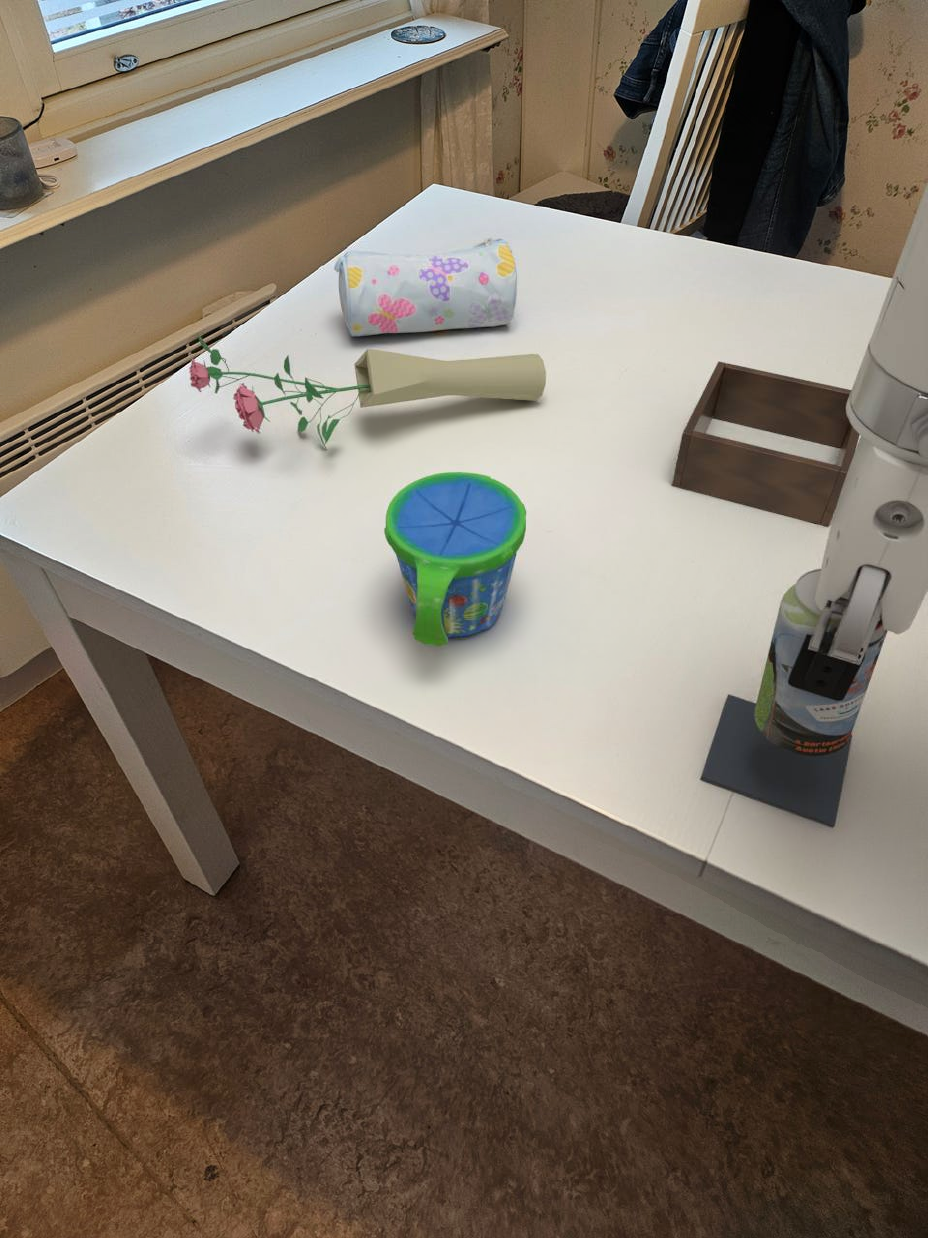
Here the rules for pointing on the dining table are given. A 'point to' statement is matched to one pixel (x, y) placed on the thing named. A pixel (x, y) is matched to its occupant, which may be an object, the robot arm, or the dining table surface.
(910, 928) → the dining table surface
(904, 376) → the robot arm
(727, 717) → the mat
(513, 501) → the snack cup
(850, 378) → the dining table surface
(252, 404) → the flower vase
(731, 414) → the open wooden box
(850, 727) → the beverage can
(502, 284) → the pencil case
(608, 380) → the dining table surface
